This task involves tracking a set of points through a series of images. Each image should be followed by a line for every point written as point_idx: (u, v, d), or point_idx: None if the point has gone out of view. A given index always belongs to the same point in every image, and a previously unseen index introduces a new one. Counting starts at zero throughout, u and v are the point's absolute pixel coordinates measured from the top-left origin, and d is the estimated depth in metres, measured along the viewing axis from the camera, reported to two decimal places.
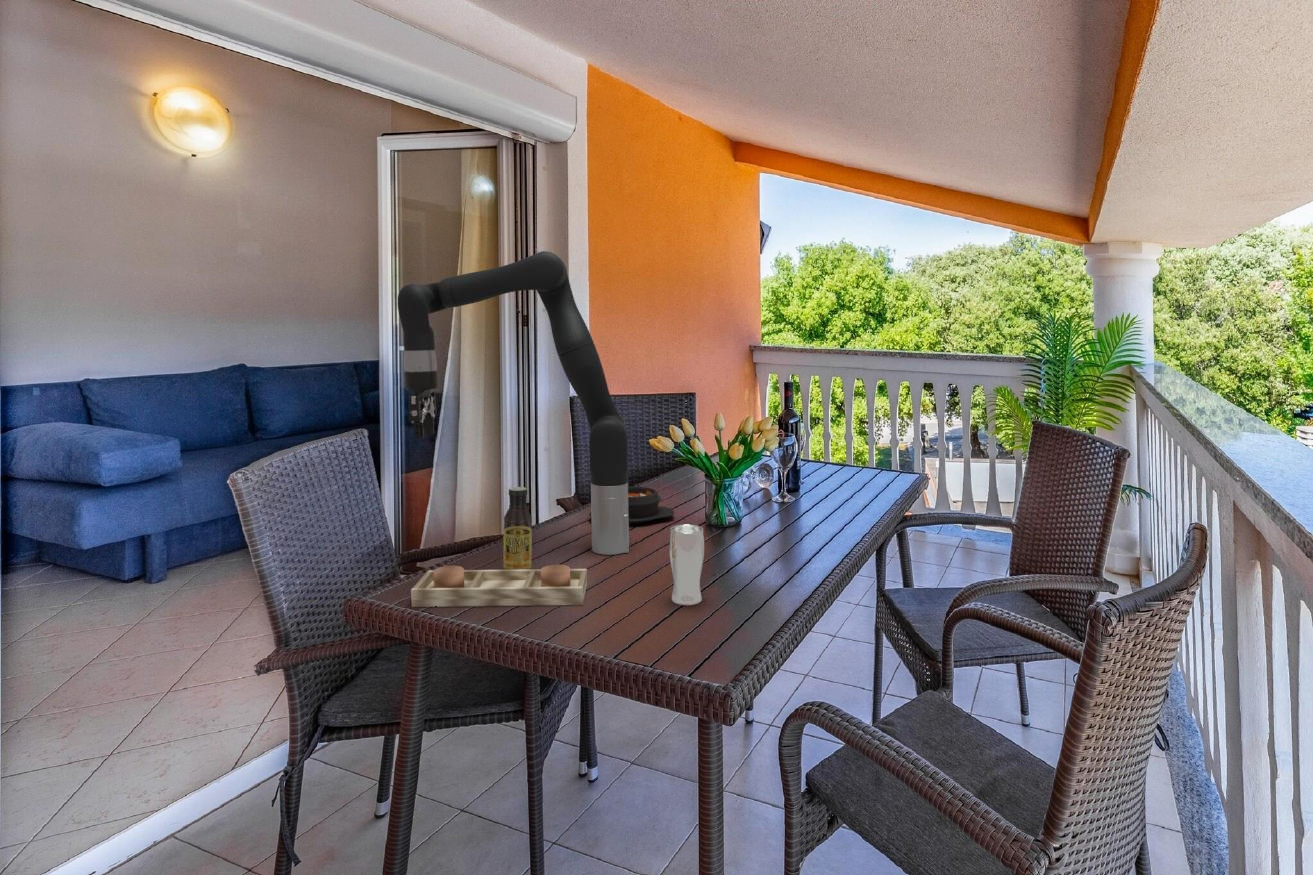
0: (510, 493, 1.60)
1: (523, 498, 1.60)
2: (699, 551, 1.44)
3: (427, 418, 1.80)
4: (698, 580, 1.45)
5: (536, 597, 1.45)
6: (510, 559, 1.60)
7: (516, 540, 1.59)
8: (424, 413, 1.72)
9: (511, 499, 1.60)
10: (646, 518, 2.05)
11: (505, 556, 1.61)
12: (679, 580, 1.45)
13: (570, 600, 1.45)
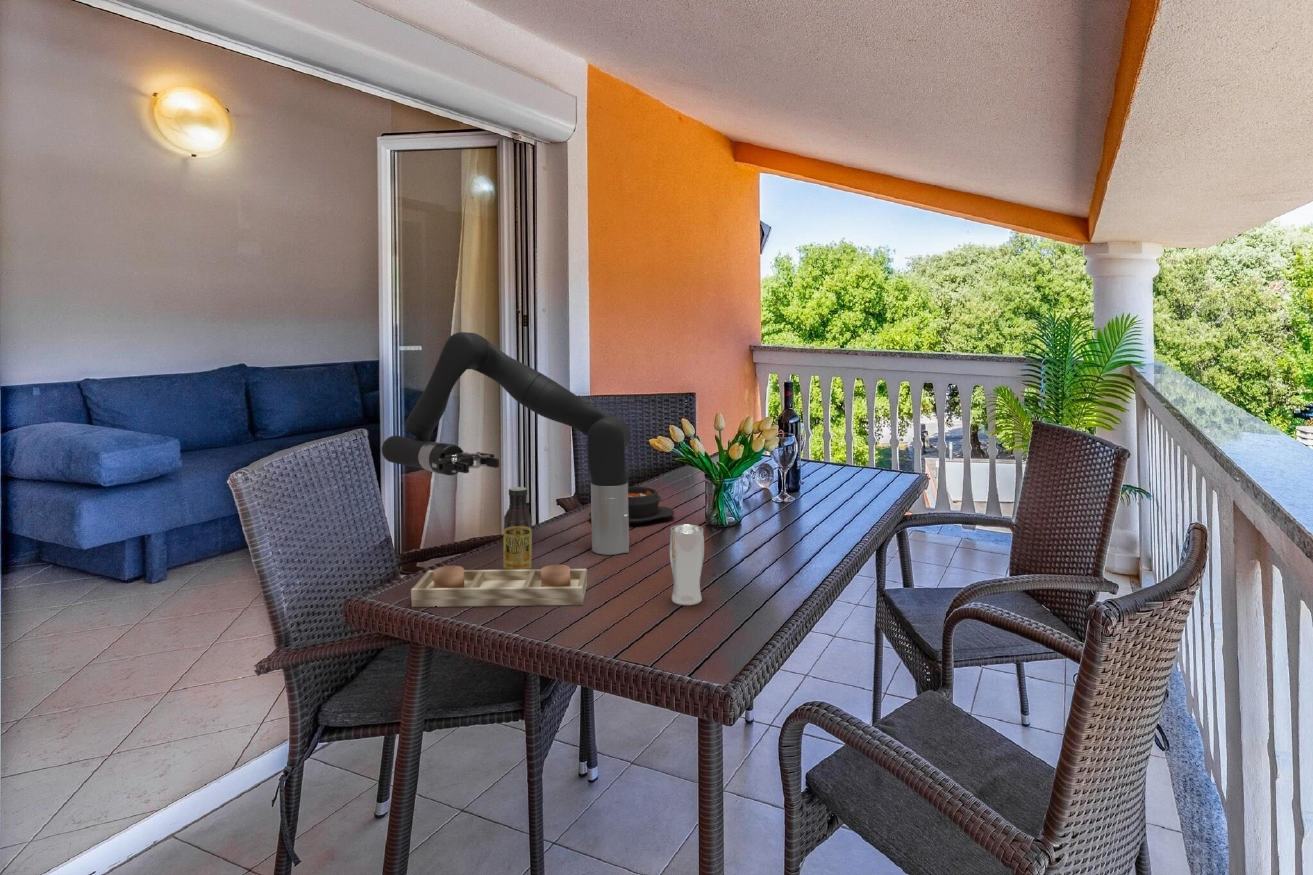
0: (510, 493, 1.60)
1: (523, 498, 1.60)
2: (699, 551, 1.44)
3: (486, 462, 1.73)
4: (698, 580, 1.45)
5: (536, 597, 1.45)
6: (510, 559, 1.60)
7: (516, 540, 1.59)
8: (453, 459, 1.68)
9: (511, 499, 1.60)
10: (646, 518, 2.05)
11: (505, 556, 1.61)
12: (679, 580, 1.45)
13: (570, 600, 1.45)
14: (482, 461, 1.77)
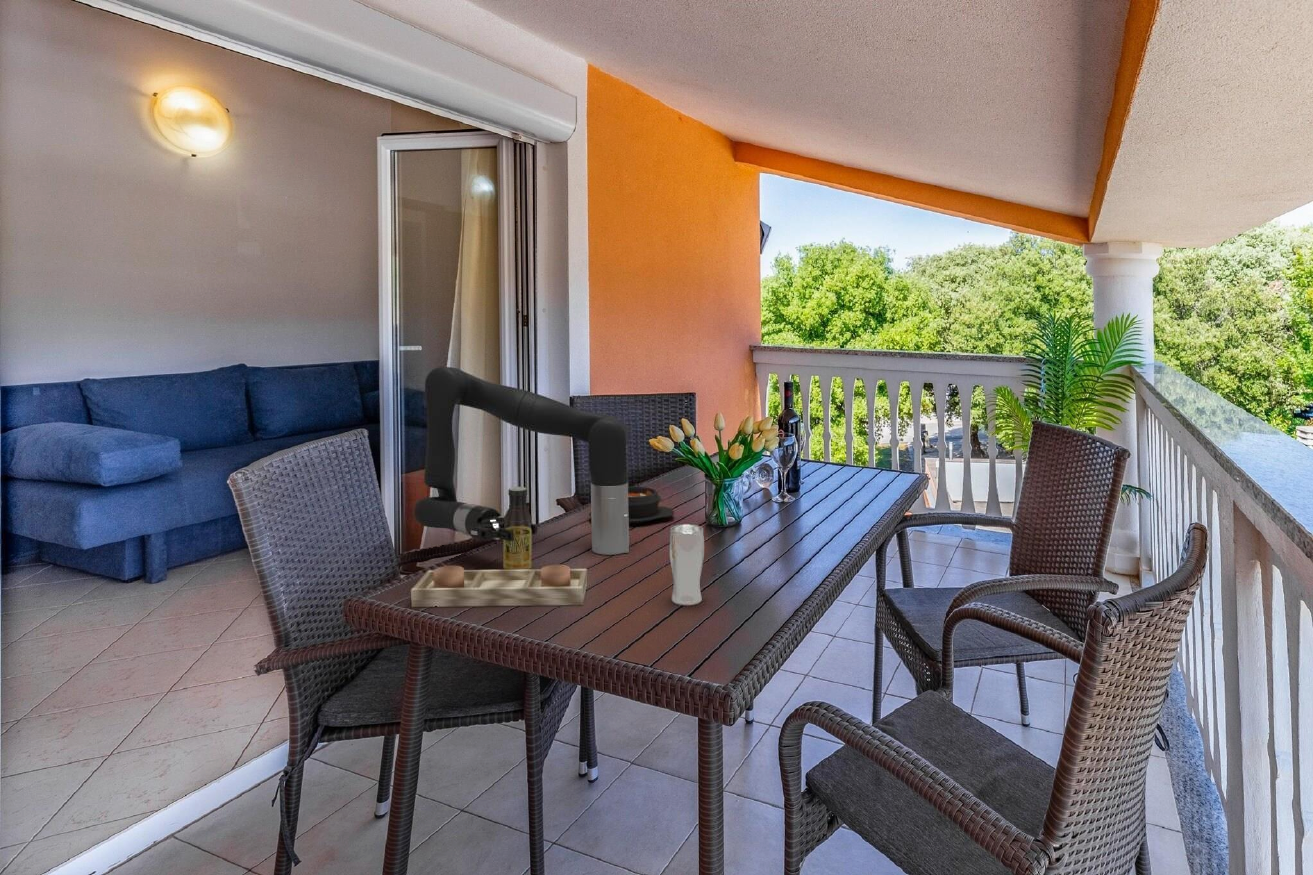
0: (510, 493, 1.60)
1: (523, 498, 1.60)
2: (699, 551, 1.44)
3: None
4: (698, 580, 1.45)
5: (536, 597, 1.45)
6: (510, 559, 1.60)
7: (516, 540, 1.59)
8: (495, 525, 1.62)
9: (511, 499, 1.60)
10: (646, 518, 2.05)
11: (505, 556, 1.61)
12: (679, 580, 1.45)
13: (570, 600, 1.45)
14: None
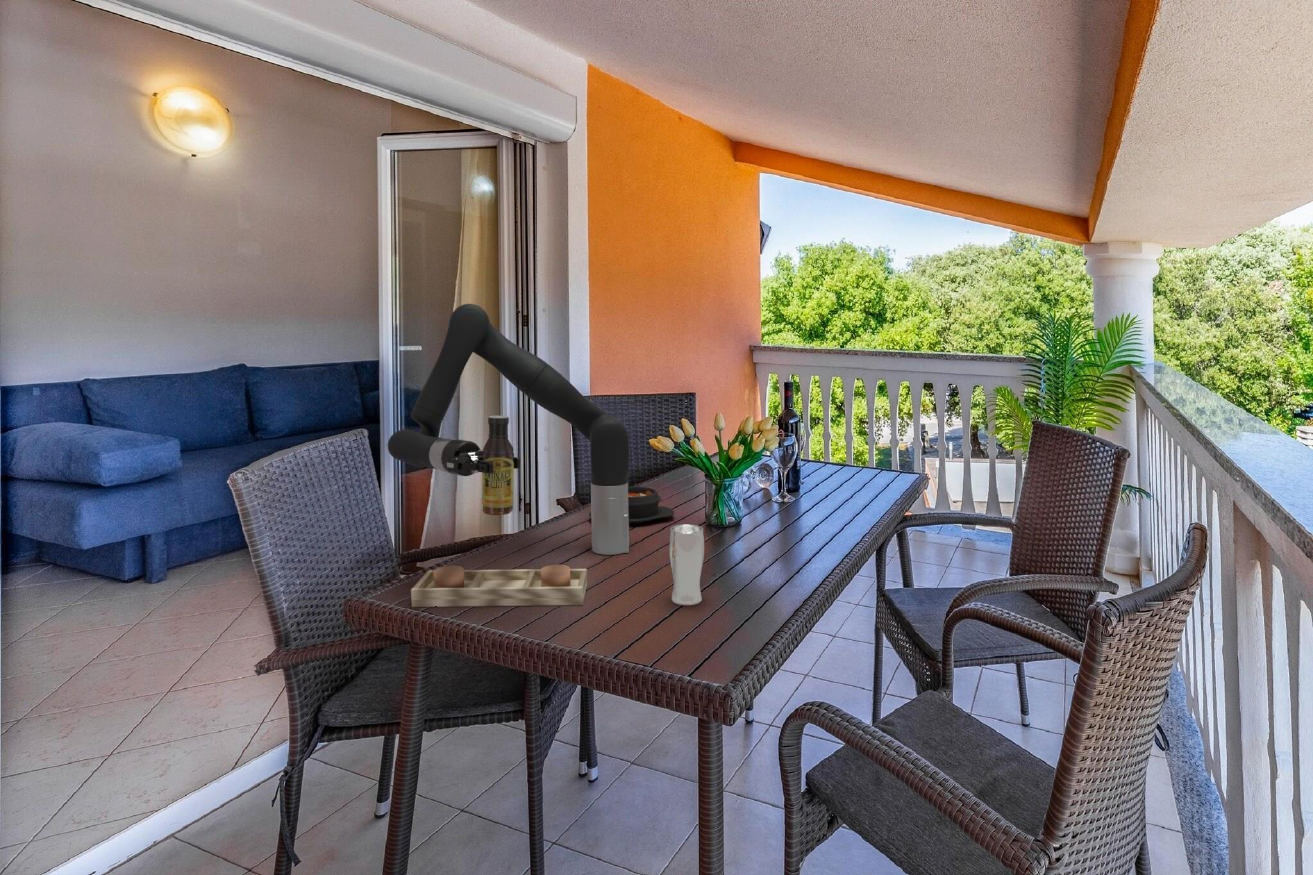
0: (490, 421, 1.44)
1: (504, 427, 1.45)
2: (699, 551, 1.44)
3: None
4: (698, 580, 1.45)
5: (536, 597, 1.45)
6: (489, 494, 1.45)
7: (496, 473, 1.44)
8: (473, 457, 1.47)
9: (491, 428, 1.44)
10: (646, 518, 2.05)
11: (484, 491, 1.46)
12: (679, 580, 1.45)
13: (570, 600, 1.45)
14: None
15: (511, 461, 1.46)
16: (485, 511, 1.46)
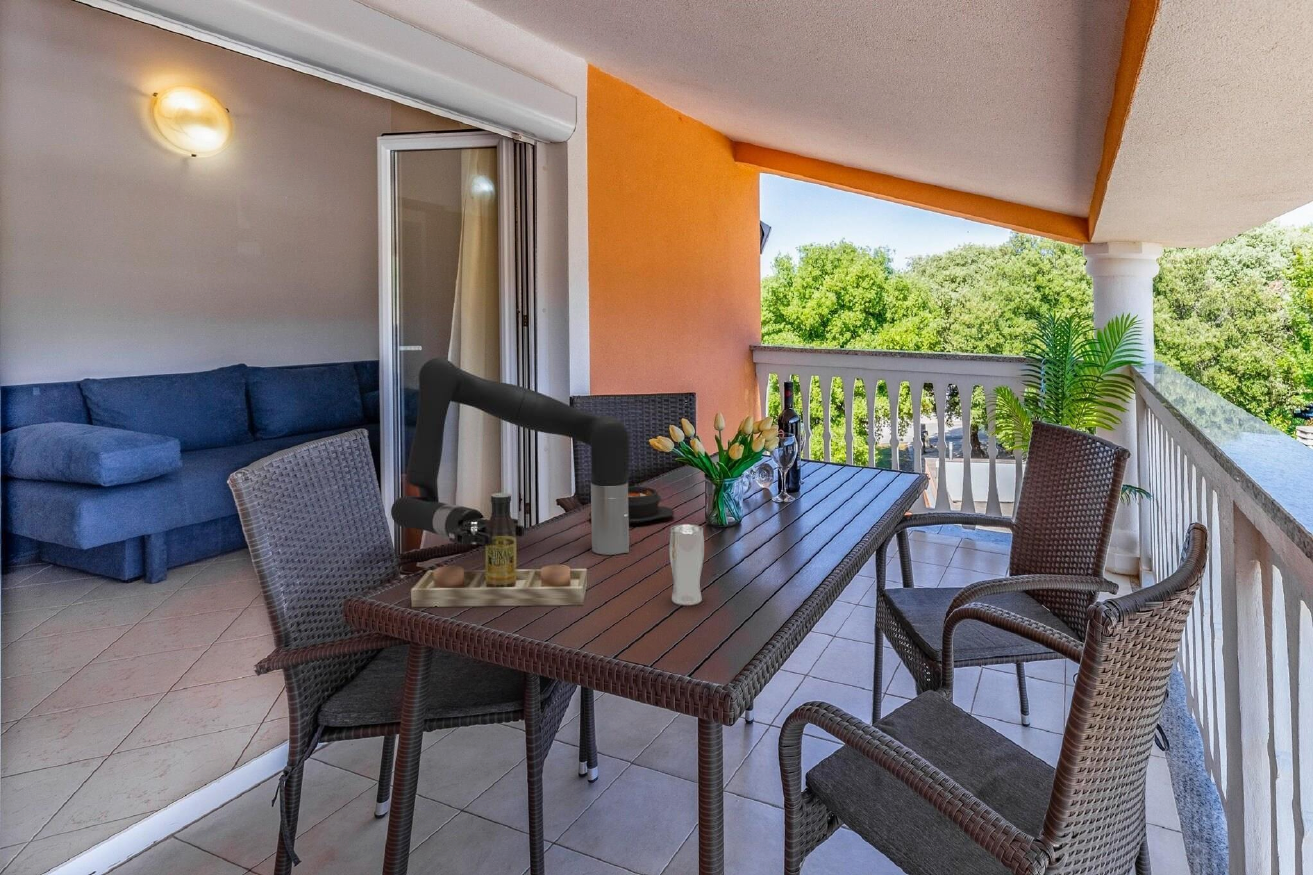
0: (492, 500, 1.47)
1: (507, 505, 1.47)
2: (699, 551, 1.44)
3: None
4: (698, 580, 1.45)
5: (536, 597, 1.45)
6: (492, 571, 1.47)
7: (499, 551, 1.46)
8: (473, 528, 1.48)
9: (493, 506, 1.47)
10: (646, 518, 2.05)
11: (487, 568, 1.48)
12: (679, 580, 1.45)
13: (570, 600, 1.45)
14: None
15: (514, 538, 1.48)
16: None
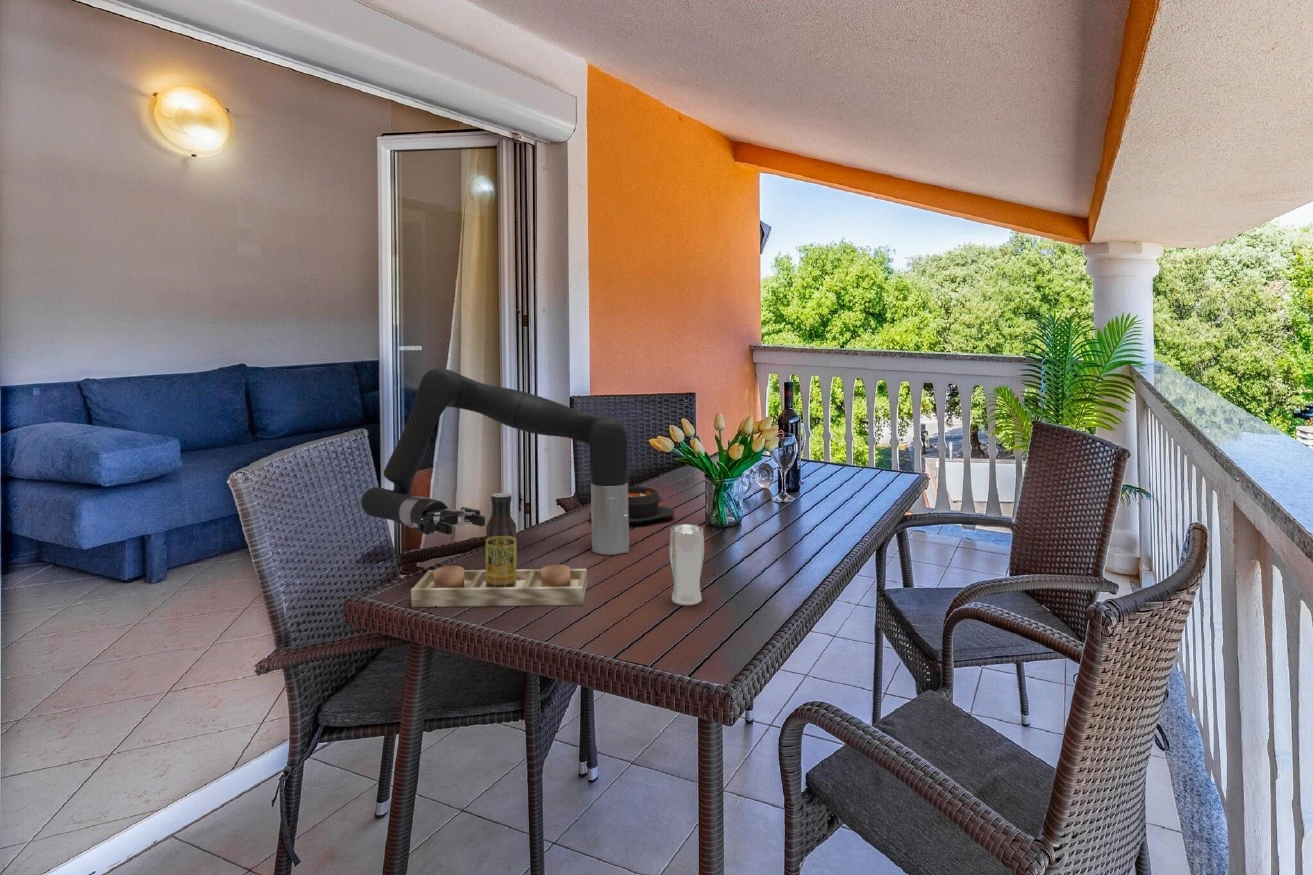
0: (493, 500, 1.47)
1: (507, 505, 1.47)
2: (699, 551, 1.44)
3: (471, 520, 1.62)
4: (698, 580, 1.45)
5: (536, 597, 1.45)
6: (492, 571, 1.47)
7: (499, 551, 1.46)
8: (436, 518, 1.57)
9: (494, 506, 1.47)
10: (646, 518, 2.05)
11: (487, 568, 1.48)
12: (679, 580, 1.45)
13: (570, 600, 1.45)
14: (467, 517, 1.65)
15: (514, 538, 1.48)
16: None
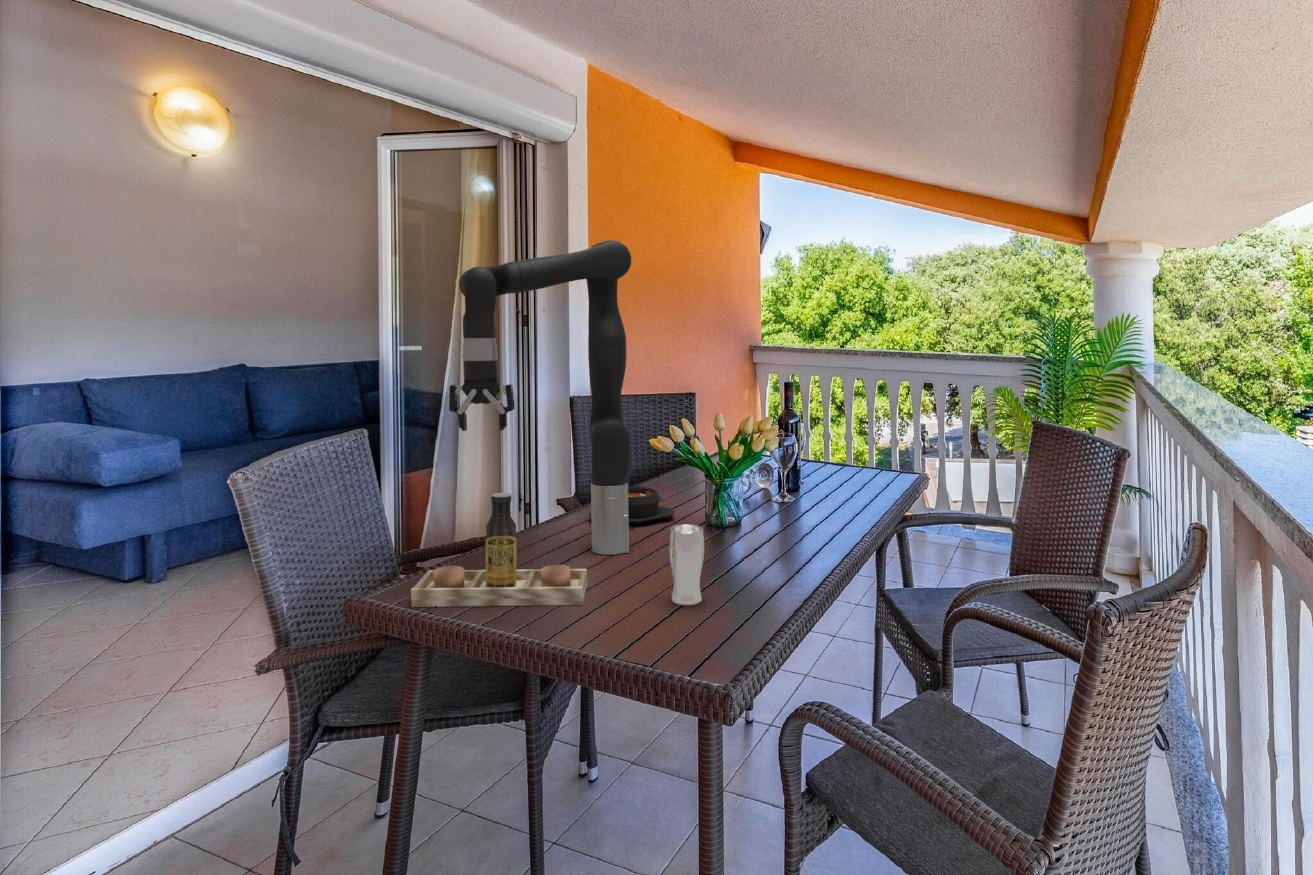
0: (493, 500, 1.47)
1: (507, 505, 1.47)
2: (699, 551, 1.44)
3: (464, 413, 1.64)
4: (698, 580, 1.45)
5: (536, 597, 1.45)
6: (492, 571, 1.47)
7: (499, 551, 1.47)
8: None
9: (494, 506, 1.47)
10: (646, 518, 2.05)
11: (487, 568, 1.48)
12: (679, 580, 1.45)
13: (570, 600, 1.45)
14: (455, 397, 1.63)
15: (514, 538, 1.48)
16: None
